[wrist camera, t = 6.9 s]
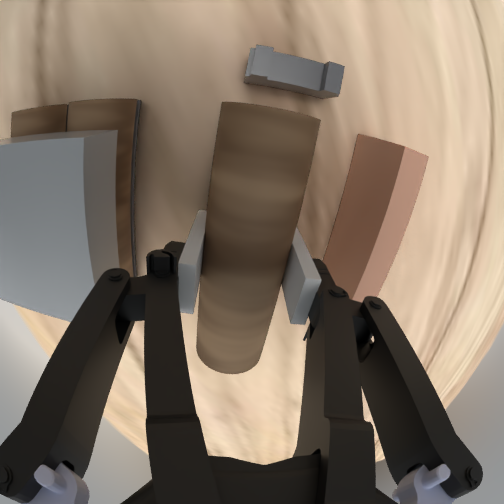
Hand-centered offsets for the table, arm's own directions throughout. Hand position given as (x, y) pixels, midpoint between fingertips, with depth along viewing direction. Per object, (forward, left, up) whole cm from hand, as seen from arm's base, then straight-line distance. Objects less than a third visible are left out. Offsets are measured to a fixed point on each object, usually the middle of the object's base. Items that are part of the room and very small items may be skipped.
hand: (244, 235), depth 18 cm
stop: (0, +9, -5) cm, 10 cm away
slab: (0, -16, 0) cm, 16 cm away
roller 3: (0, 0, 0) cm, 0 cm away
